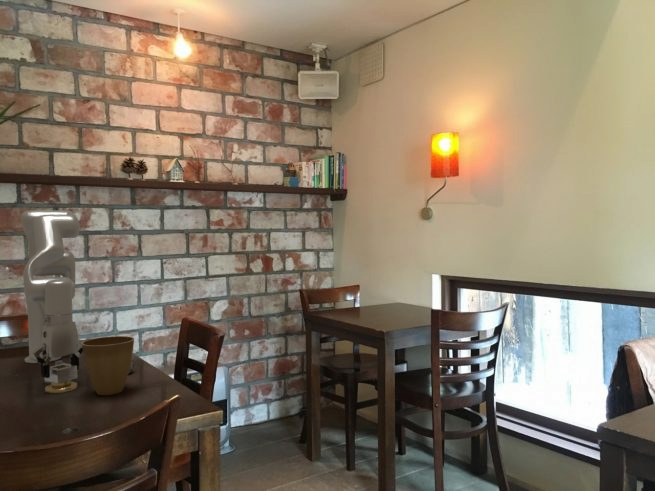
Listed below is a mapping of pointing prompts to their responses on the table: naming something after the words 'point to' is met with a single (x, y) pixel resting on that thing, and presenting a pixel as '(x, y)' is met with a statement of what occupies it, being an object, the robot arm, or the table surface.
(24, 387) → the table surface
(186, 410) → the table surface
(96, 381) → the plant pot
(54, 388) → the hub
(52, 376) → the square sleeve
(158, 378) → the table surface
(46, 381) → the stand
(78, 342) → the robot arm
